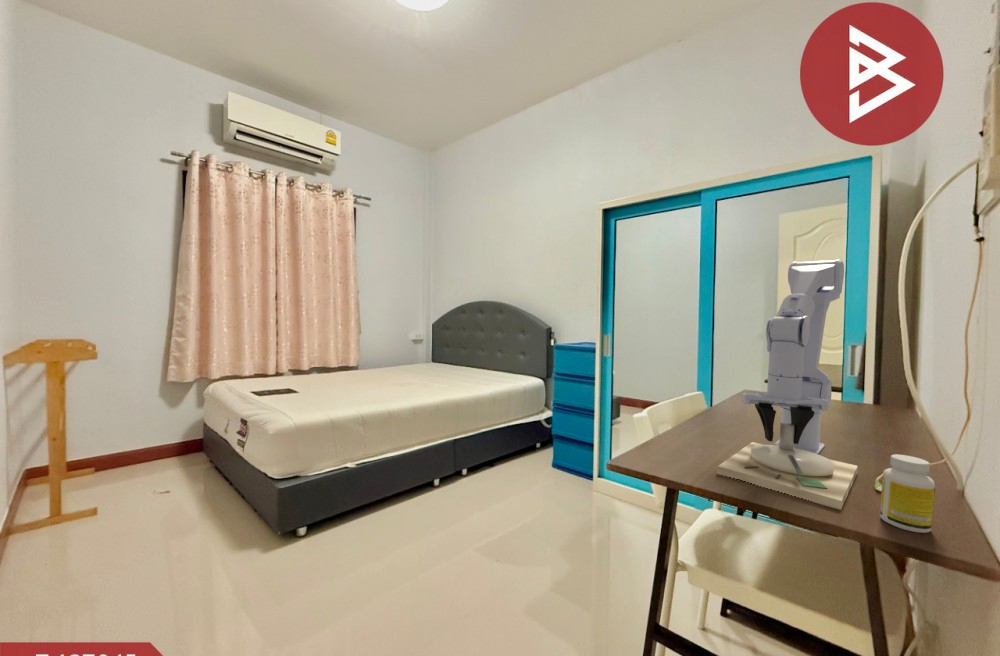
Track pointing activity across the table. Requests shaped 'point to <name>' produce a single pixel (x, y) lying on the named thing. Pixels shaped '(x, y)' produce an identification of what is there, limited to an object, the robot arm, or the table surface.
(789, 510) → the table surface
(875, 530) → the table surface
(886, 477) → the supplement bottle
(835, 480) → the dial board
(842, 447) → the table surface
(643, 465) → the table surface
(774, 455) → the tuning knob
